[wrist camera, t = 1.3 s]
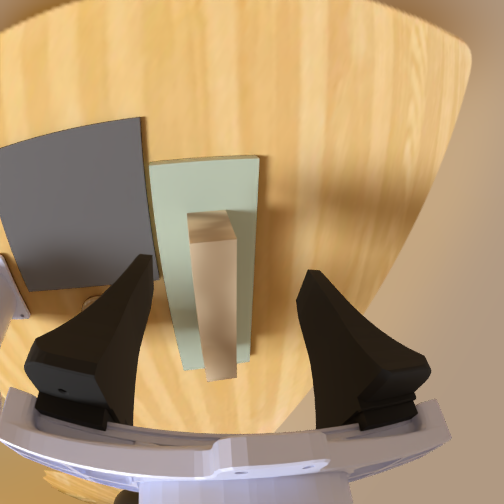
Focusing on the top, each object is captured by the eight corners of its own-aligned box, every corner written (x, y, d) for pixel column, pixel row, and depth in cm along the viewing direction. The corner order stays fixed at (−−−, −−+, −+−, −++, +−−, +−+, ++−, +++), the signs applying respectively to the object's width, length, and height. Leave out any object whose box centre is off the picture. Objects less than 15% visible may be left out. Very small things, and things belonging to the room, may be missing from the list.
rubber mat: (30, 289, 22) (29, 291, 22) (-13, 152, 15) (-15, 154, 14) (159, 277, 25) (159, 279, 25) (140, 116, 18) (139, 117, 18)
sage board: (183, 364, 33) (183, 370, 32) (150, 162, 20) (148, 165, 19) (247, 355, 35) (249, 361, 34) (256, 155, 22) (259, 158, 21)
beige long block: (201, 348, 31) (207, 381, 27) (186, 213, 22) (189, 243, 18) (228, 344, 31) (236, 377, 28) (225, 209, 22) (236, 239, 19)
